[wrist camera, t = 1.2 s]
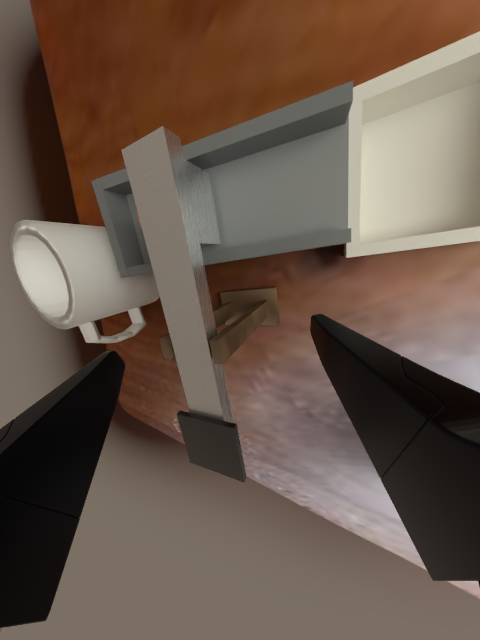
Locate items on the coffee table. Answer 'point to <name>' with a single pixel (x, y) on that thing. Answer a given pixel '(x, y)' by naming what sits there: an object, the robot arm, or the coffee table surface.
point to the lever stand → (236, 320)
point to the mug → (77, 278)
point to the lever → (186, 289)
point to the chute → (256, 185)
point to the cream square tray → (416, 154)
